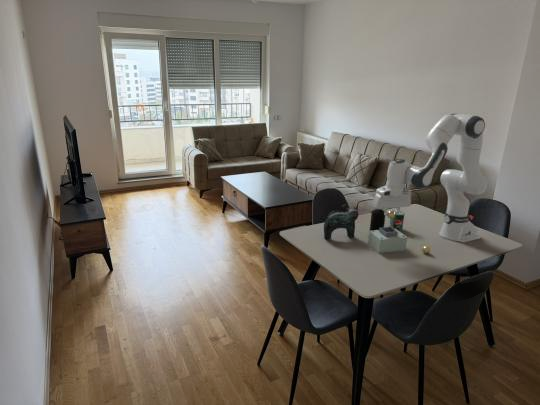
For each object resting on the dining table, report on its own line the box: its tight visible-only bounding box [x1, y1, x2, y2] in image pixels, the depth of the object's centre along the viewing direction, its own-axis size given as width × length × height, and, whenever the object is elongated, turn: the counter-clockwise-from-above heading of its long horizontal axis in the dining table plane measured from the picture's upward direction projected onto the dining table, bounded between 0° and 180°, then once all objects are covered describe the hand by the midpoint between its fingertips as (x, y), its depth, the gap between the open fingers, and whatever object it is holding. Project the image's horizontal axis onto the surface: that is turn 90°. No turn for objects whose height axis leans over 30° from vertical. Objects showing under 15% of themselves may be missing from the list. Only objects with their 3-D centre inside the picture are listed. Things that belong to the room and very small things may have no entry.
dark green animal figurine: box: [323, 204, 359, 241], centre depth 214 cm, size 20×6×20 cm, turn 104°
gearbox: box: [367, 226, 408, 254], centre depth 205 cm, size 16×12×10 cm
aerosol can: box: [367, 208, 386, 238], centre depth 214 cm, size 8×8×20 cm
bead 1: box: [387, 210, 395, 219], centre depth 200 cm, size 4×4×4 cm
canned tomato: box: [388, 209, 405, 232], centre depth 229 cm, size 8×8×11 cm
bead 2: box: [421, 245, 431, 255], centre depth 199 cm, size 4×4×4 cm
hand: (390, 215), depth 200 cm, fingers closed on bead 1, 4 cm apart
